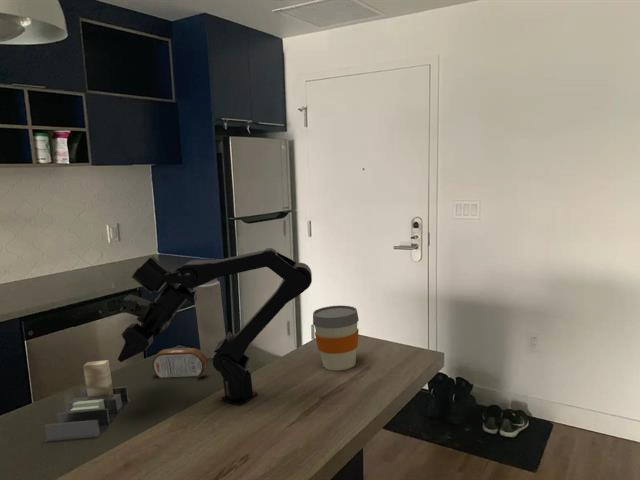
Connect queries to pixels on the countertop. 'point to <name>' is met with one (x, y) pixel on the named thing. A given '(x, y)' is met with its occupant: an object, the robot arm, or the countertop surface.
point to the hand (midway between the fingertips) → (126, 353)
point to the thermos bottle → (210, 316)
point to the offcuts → (88, 405)
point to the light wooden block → (98, 378)
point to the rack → (88, 417)
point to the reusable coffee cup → (336, 336)
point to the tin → (179, 363)
